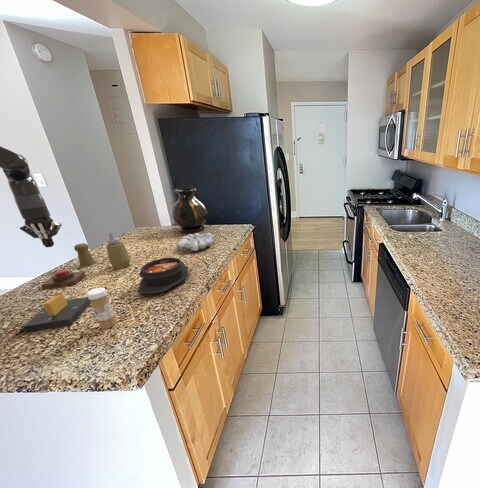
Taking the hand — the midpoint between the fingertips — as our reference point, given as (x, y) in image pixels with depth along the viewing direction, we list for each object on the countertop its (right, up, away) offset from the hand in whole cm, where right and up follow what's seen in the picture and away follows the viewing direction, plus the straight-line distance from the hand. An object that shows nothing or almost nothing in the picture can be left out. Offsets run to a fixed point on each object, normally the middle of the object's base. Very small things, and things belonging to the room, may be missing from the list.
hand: (49, 246), depth 107 cm
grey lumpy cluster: (+39, 0, +45) cm, 59 cm away
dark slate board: (+21, -25, -16) cm, 36 cm away
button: (0, -12, +5) cm, 13 cm away
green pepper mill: (-5, -9, +23) cm, 25 cm away
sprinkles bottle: (+41, -27, -20) cm, 53 cm away
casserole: (+44, -16, +6) cm, 48 cm away
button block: (0, -16, +6) cm, 17 cm away
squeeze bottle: (+14, -10, +21) cm, 27 cm away
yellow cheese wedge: (+21, -22, -16) cm, 35 cm away
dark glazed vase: (+23, +11, +73) cm, 77 cm away
